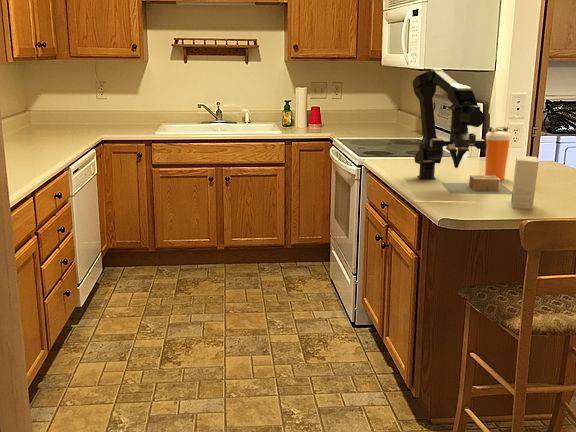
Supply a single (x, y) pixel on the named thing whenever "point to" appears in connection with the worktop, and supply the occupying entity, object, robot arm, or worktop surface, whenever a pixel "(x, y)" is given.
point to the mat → (465, 189)
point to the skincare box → (524, 182)
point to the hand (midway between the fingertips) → (456, 167)
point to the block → (484, 183)
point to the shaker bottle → (497, 151)
